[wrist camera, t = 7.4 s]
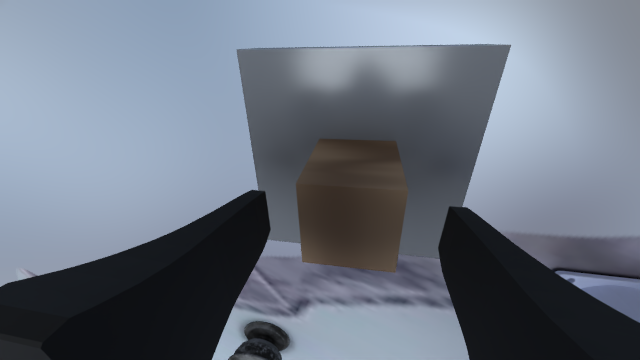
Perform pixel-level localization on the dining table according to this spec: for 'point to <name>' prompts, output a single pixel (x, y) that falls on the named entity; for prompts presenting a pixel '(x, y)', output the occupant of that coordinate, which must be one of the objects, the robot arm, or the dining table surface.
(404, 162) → the slate coaster
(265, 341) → the salt shaker
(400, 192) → the walnut block
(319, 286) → the dining table surface
